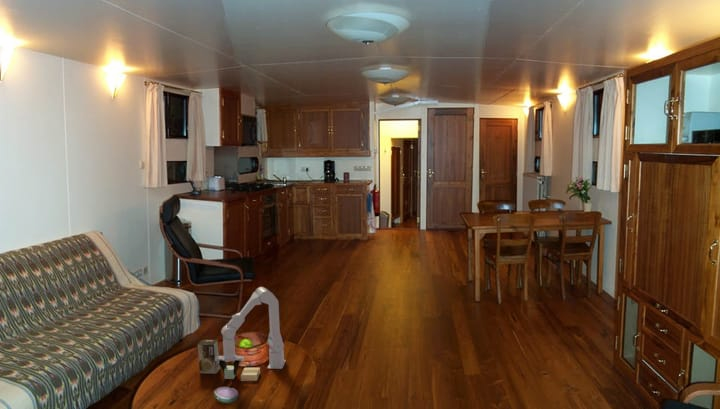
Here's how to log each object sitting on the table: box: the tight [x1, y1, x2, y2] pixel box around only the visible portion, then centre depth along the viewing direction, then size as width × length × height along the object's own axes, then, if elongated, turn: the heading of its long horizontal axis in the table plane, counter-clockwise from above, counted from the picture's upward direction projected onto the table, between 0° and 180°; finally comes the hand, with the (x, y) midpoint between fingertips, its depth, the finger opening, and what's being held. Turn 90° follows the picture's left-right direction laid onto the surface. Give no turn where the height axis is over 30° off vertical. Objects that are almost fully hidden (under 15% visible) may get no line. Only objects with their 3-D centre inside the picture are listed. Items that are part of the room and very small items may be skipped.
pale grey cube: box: [223, 365, 237, 380], centre depth 257 cm, size 5×5×5 cm
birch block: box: [240, 367, 261, 382], centre depth 256 cm, size 8×8×4 cm
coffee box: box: [197, 339, 221, 375], centre depth 263 cm, size 9×6×16 cm
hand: (230, 374), depth 257 cm, fingers open, 5 cm apart
